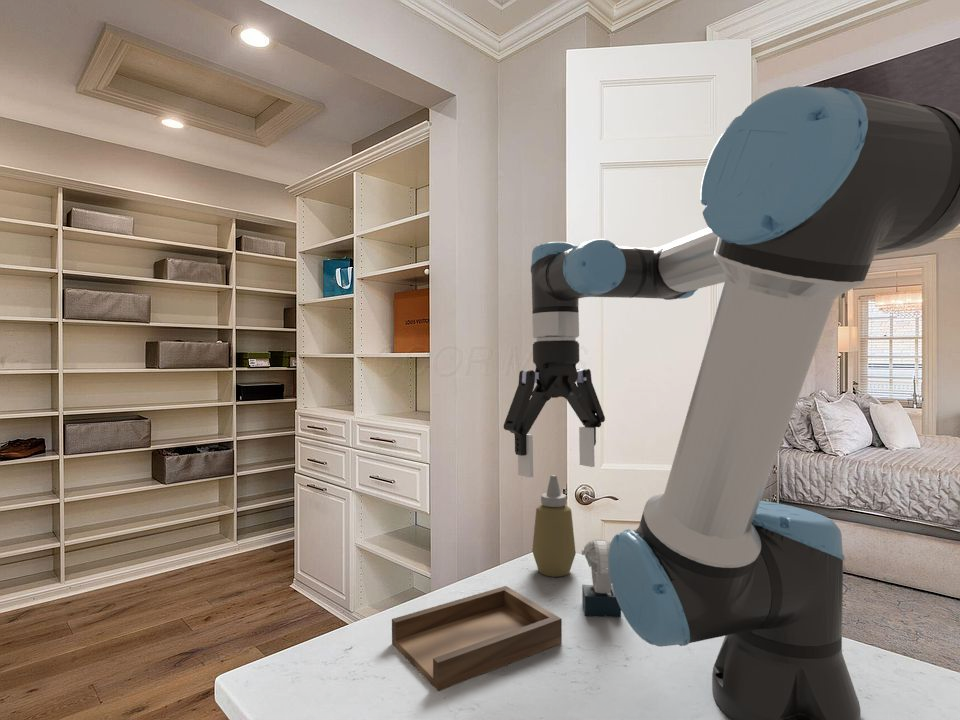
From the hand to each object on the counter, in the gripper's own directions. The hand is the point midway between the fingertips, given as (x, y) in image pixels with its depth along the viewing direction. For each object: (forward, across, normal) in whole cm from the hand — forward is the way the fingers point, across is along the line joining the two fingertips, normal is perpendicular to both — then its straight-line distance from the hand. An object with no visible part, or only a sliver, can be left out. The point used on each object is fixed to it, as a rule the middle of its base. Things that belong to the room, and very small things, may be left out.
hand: (557, 470), depth 91 cm
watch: (+22, -4, +5) cm, 23 cm away
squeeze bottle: (+22, -9, -11) cm, 26 cm away
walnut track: (+22, +18, +2) cm, 28 cm away
